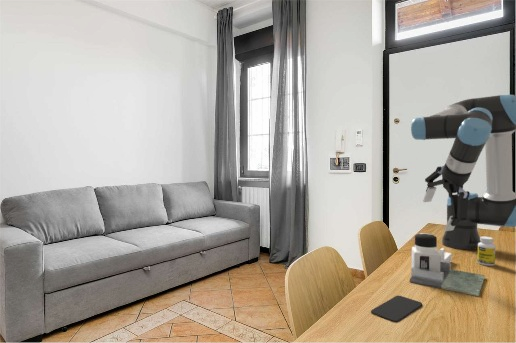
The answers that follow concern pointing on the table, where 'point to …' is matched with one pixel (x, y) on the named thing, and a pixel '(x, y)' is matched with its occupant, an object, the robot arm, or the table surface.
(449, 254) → the bracket
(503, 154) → the robot arm
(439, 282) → the board
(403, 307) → the phone
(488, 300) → the table surface
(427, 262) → the container
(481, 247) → the supplement bottle
